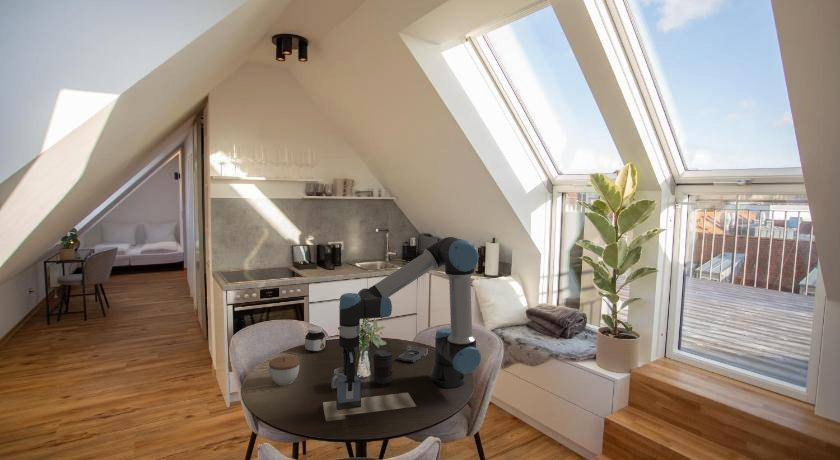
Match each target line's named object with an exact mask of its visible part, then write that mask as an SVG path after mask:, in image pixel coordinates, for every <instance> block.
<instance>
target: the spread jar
mask: <svg viewBox="0 0 840 460" xmlns="http://www.w3.org/2000/svg"><path fill="white" fill-rule="evenodd" d="M307 331H308V332H307V333H306V335H305V337H304V348H305V350H306V351H308V352H309V353H312V354H316V353H321V352H322V351H323V350H324V349H325V347H326V333H324V331H323V328H322V327H321V326H318V325H317V326H309V327H308V330H307Z"/></svg>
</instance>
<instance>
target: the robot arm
mask: <svg viewBox="0 0 840 460" xmlns="http://www.w3.org/2000/svg"><path fill="white" fill-rule="evenodd" d="M478 262H479V252H478V249H477V248H476V246H475V245H474V244H473V243H472V242H470V241H468V240H467V239H461V238H458V237H454V236H448V237H444V238H441V239H439V240H438V241H436V242H434V243H432V244H431V245H430V246H428V247H426V248H425V249H424V250H423V253H421V254H420V255H418V256H417V257H415V258H414V259H412V260H411V261H409V262H408V263H406V264H405V265H403V266H401V267H399V268H398V269H397V270H395V271H394V272H392V273H391V274H389V275H387V276H386V277H385V278H383V279H381V280H380V281H378V282H376V283H375V284H373V285H372V286H370V287H368V288H367V287H366V288H365V287H364V288H362V289H360V290H359V291H358V292H357V293H356V292H347V293H343V294H341V296H340V297H339V306H338V307H339V313H338V314H339V315H338V316H339V317H338V318H339V321H338V322H339V326H338V327H337V330H338V331H339V337H338V345H339V347H341V348H342V350H343V351H342V353H343V367H342V368H343V371H344V375H345V376H344V377H347V380H346V381H345V383H346V399H353V384H354V382H355V376H356V375H355V374H356V367H355V366H356V357H355V356H356V351H355V348H357V347H359V345H360V333H361V331H360V330H361V329H360V328H361V323H360V322H361V320H365V319H366V320H367V319H369V320H370V319H384V318H388V317H390V316H391V315H392V313H393V312H392V311H393V304H392V301H391V299H390V297H391V296H394V294H396V293H397V292H399V291H401V290H402V289H404V288H405V287H407V286H408V285H410V284H412V283H413V282H415V281H416V280H418V279H420V277H422V276H424V275H425V274H427V273H428V272H429V271H432V270H433V269H439V268H440V267H442V266H444V273H445V275H446V277H448V283H449V284H448V285H449V305H450V306H449V308H450V310H449V311H450V328H440V329H438V330H436V331H435V337H434V340H435V342H434V345H435V346H434V347H435V348H434V356H435V357H434V364H433V367H432V370H431V373H430V381H431V382H432V384H433V385H434V386H436V387H440V388H447V389H448V388H449V389H450V388H451V389H452V388H453V389H454V388H459V387H462V386H463V385H464V384H465V383H466V382H465V380H466V379H465V378H466V377H465V376H466V375H467V374H470V373H472V372H474V371H476V369H477V368H479V365H480V364H481V362H482V353H481V352H480V350H479V349H478V348H477V337H476V336H475V335H474V334H473V324H472V323H473V321H472V320H473V318H472V290H471V289H472V286H471V285H472V284H471V280H472V279H471V277H472V276H473V275H474V273H475V268H476V265H478ZM465 374H466V375H465Z"/></svg>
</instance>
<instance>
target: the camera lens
mask: <svg viewBox="0 0 840 460" xmlns="http://www.w3.org/2000/svg"><path fill="white" fill-rule="evenodd" d="M393 364H394V354H393V352H392V350H388V349H380V350H379V349H378V350H376V351H375V352H374V354H373V366H374V367H373V382H374V383H373V384H374V386H376V387H380V388H385V387H390V386H392V384H393V372H394V367H393Z"/></svg>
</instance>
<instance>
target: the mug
mask: <svg viewBox="0 0 840 460" xmlns="http://www.w3.org/2000/svg"><path fill="white" fill-rule="evenodd" d="M344 376H345V375H344V371H343V367H338V368H335V369H334V370H333V377H332V378H331V381H330V382H331V389H332V390H334V389H336V390H337V377H344Z"/></svg>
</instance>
